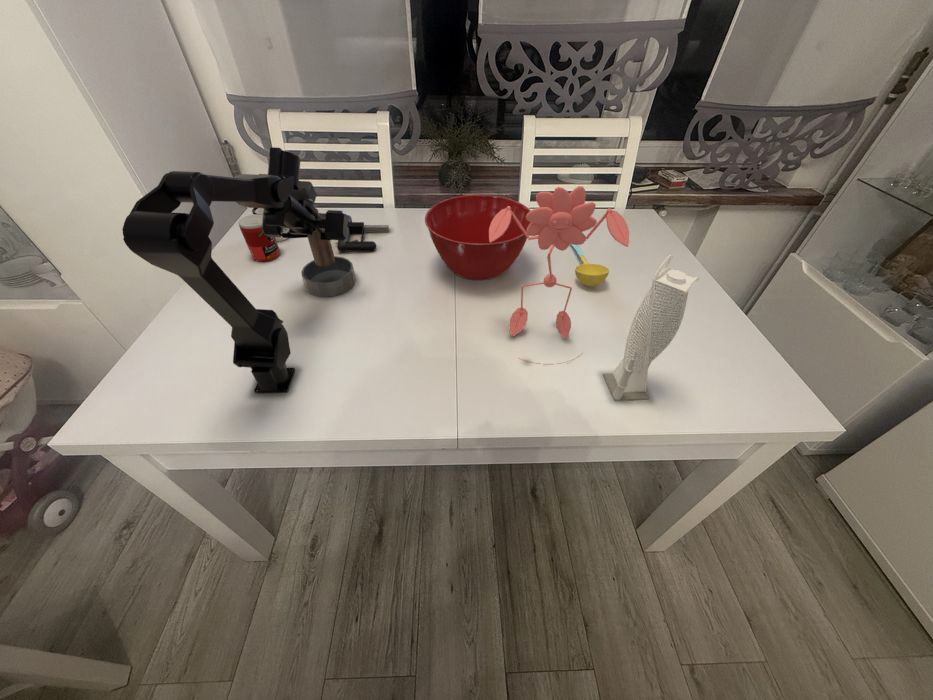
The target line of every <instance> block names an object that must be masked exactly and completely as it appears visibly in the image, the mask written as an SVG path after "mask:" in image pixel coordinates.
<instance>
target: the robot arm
mask: <svg viewBox="0 0 933 700" xmlns="http://www.w3.org/2000/svg"><path fill="white" fill-rule="evenodd" d="M267 166H268V167H267V174H266V173H258V174H252V173H251V174H250V173H242V174H236V175H234V176H232V177H230V176H222V175H212V174H204V173H202V172H201V171H187V170H186V171H184V170H171V171H169V172H167V173H165V174H163V176H162V178H161V179H160V181H159V183H158V185H156V187H154V188H153V189H151V190H150V191H149V192H148V193H146V194H145V195H144V196H142V197H141V198H139V199H138V200H137V201H136V202H135V203H134V205H133V207H132V208H131V211H130V213H129V214H128V215H127V216H126V218H125V220H124V222H123V225H122V229H121V230H122V236H123V239H122V240H123V242H124V244H125V246H126V247H127V248H128V249H129V250H130V251H131V252H132V253H133V254H135V255H137V256H138V257H139V258H141V259H142V260H144V261H146V263H148V264H150V265H152V266H154V267H156V268H160V269H161V270H164V271H166V272H169V273H171V274H174V275H176V276H178V277H179V278H180V279H181V280H182V281H183V282H185V284H187V285H188V286H189V288H191V289H192V290H193V291H194V292H195V293H196V294H197V296H199V297H201V299H202V300H203V301H204V302H205V303H206V304H207V305H208V306H210V307H211V309H213V310H214V311H215V312H216V313H217V314H218V315H219V316H220V317H221V318H222V319H223V320H224V321H225V322H226V323H227V324H228V325H229V326H230V327H231V334H230V337H231V339H232V340H233V341H234V344H233V358H232V363H233V365H235V366H236V367H237V368H250V370H251V371H250V373H251V375H252V376H253V379H254V380H255V381H256V384H255V387H254V390H253V391H254V392H253V393H254V394H285V393H288V391H289V389H290V386H291V383H292V381H293V379H294V376H295V374H296V368H295V367H288V366H287V364H286V363H287V361H288V359H289V357H290V356H291V354H292V353H291V347H290V346H291V345H290V340H289V335H288V331H287V329H286V327H285V325H284V324H283V323H284V320H283V319H280V318H279V316H278V315H277V312H275V310H273V309H262V308H261V309H260V308H256V307H255V306H254V305H253V303H251V301H250V300H249V299H248V298H247V296H245V294H244V293H242V291H241V290H240V289H239V288H238V286H236V284H235V283H234V282H233V281H232V279H231V278H230V277H229V276H228V275H227V274H226V273H225V271H224V270H223V269H222V267H220V266H219V264H217V262H216V261H215V260H214V259H213V257H212V254H213V253H212V251H213V242H212V240H211V238H210V237H209V235H210V234H211V232H212V229H213V227H214V226H215V225H214V223H215V222H214V218H213V214H212V210H211V204H212V203H213V202H228V203H229V202H231V203H234V202H235V203H236V204H237V205H239V206H242V207H246V208H251V209H253V208H263V209H264V211H263V219H262V231H263V233H264V234H265V235H267V236H269V237H281V235H282V237H283V238H287V239H304V238H305V239H306V238H308V237H307V235H312V232H317V227H319V229H320V230H321V240H330V241H338V240H343V241H344V240H345V239H346V234H347V220H348V216H347V215H348V214H347V213H345V211H344V210H338V209H337V210H335V209H334V210H333V209H328V210H327V211H325V212H322V214H320V216H314V214H316V209H317V207H315V206H314V205H315V203H316V198H317V196H318V192H317V190H316V189H315V187H314V185H313V183H312V182H311V181H309V180H300V174H301V173H300V172H301V158H300V157H299V155H297V154H294V153H292V152H290V151H287V150H283V149H282V148H281V147H275V146H274V147H273V146H272V147H269V154H268V165H267ZM181 203H189V204H190V203H191V204H193V205H192V207H191V209H190V211H189V213H186V212H174V211H175V210H177V209H178V208H179V207H180V205H181ZM320 220H322V221H320ZM315 227H316V228H315ZM281 233H282V234H281Z"/></svg>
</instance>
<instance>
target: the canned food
mask: <svg viewBox="0 0 933 700" xmlns="http://www.w3.org/2000/svg"><path fill="white" fill-rule="evenodd" d="M262 219H263V215H260V214H249V215H245V216H243V217H241V218H240V219H239V220H238V221H237V224H238V226H239V227H238V228H239V230H240V231H241V234H242V236H243V239H244V241H245V243H246V245H247V248H248V250H249V253H250V255H251V257H252V258H253V259H254V260H255V261H257V262H261V263H265V262H271V261H274V260H277V258H278V257H279V256H280V255H281V250H280V247H279V245H278V242H277V241H276V238H275V237H269V236H267V235H265V234H264V233H263V231H262Z"/></svg>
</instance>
